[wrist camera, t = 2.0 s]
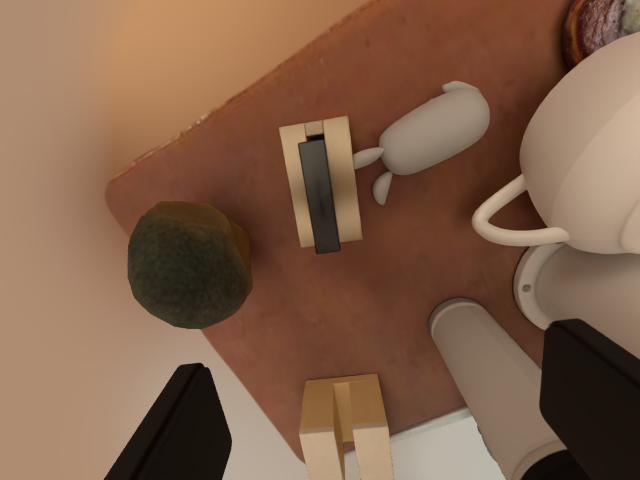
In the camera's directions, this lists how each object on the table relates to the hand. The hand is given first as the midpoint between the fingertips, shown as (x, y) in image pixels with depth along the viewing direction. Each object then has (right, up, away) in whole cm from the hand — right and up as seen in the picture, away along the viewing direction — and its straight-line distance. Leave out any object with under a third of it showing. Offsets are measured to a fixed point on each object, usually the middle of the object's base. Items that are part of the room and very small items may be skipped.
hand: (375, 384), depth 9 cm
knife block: (-1, +10, +20) cm, 23 cm away
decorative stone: (-10, +5, +22) cm, 25 cm away
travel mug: (+13, -5, +25) cm, 29 cm away
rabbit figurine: (+7, +12, +19) cm, 24 cm away
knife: (-1, +10, +20) cm, 23 cm away
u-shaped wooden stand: (+2, -16, +29) cm, 33 cm away
